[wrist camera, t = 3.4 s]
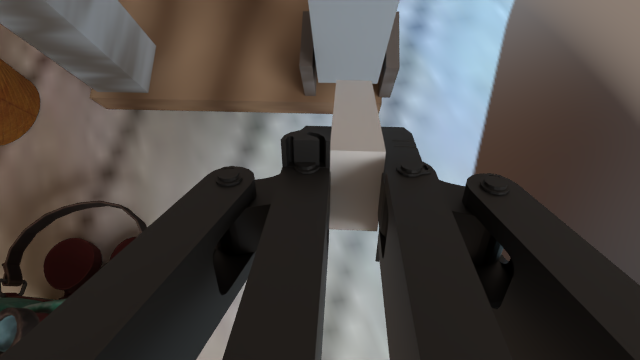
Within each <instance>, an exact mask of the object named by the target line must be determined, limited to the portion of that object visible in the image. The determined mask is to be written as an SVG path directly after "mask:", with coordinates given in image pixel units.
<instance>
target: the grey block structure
mask: <svg viewBox="0 0 640 360" xmlns="http://www.w3.org/2000/svg"><path fill="white" fill-rule="evenodd" d="M0 24H2V25H3V26H5V27H6V28H8V29H9V30H10V31H12V32H13V33H15V34H16V35H17V36H19V37H20V38H22V39H23V40H25V41H26V42H27V43H29V44H30V45H32V46H33V47H35V48H36V49H37V50H39V51H40V52H42V53H43V54H44V55H46V56H47V57H49V58H50V59H52V60H53V61H54V62H56V63H57V64H59V65H60V66H61V67H63V68H64V69H66V70H67V71H69V72H70V73H71V74H73V75H74V76H76V77H77V78H78V79H80V80H81V81H83V82H84V83H86V84H87V85H88V86H90V87H91V88H92V89H91V94H90V98H91V99H92V100H94V101H95V102H97V103H98V104H100V105H102V106H103V107H105V108H106V109H134V110H180V111H225V112H271V113H316V114H333V109H334V99H335V89H336V83H318V76H317V68H316V60H315V52H314V44H313V36H312V28H311V21H310V13H309V5H308V0H0ZM398 71H399V12H396V15H395V19H394V23H393V26H392V30H391V34H390V38H389V42H388V45H387V49H386V53H385V57H384V61H383V64H382V68H381V72H380V76H379V80H378V83H377V84H372V85H373V90H374V95H375V100H376V105H377V110H378V114H379V111H380V107H381V99H382V97H390V95H391V92H392V89H393V86H394V83H395V80H396V77H397V74H398Z"/></svg>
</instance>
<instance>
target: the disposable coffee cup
mask: <svg viewBox="0 0 640 360" xmlns="http://www.w3.org/2000/svg"><path fill="white" fill-rule="evenodd" d="M39 108H40V98H39V93H38V91H37V89H36V87H35V86H34V85H33V84H32V83H31V82H30V81H29V80H27V79H26V78H25V77H23V76H22V75H21V74H19V73H18V72H17V71H15V70H14V69H13V68H12V67H10V66H9V65H8V64H6V63H5V62H4V61H3V60H1V59H0V145H5V144H8V143H11V142H13V141H15V140H16V139H18V138H20V137H21V136H22V135H23V134H25V133H26V132H27V131H28V130H29V129H30V127H31V126H32V125H33V123H34V121H35V120H36V117H37V115H38V112H39Z"/></svg>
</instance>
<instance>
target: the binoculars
mask: <svg viewBox="0 0 640 360" xmlns="http://www.w3.org/2000/svg"><path fill="white" fill-rule="evenodd" d="M103 206H111V207H116V208H120V209H123V210H124V211H125V212H126V213H127V214H128V215H130V216H131V217H132V218H133V219H134V220H135V221H136V223H137V225H138V228H139V230H140V233H142V232H143V231H144V230H145V229H147V227H146V224H145V222H143V221H142V220H141V219H140V218H139V217H138V216H136V215H135V214H134V213H133V212H132V211H131V210H129V209H128V208H126V207H124V206H122V205H119V204H114V203H109V202H104V201H91V202H81V203H76V204H72V205H68V206H64V207H61V208H59V209H57V210H54V211H52V212H49V213H47V214H45V215H43V216H42V217H40V218H39V219H38V220H36V221H35V222H34V223H32V224H31V225H30V226H28V227H27V228H26V229H24V230H23V232H22V233H21V234H20V235H19V237H18V238H17V239H16V241H15V242H14V243H13V245H12V246H11V247H10V249H9V251H8V255H7V258H6V261H5V263H3V264H2V266H3V268H4V272H5V273H4V276H3V279H0V357H1V356H2V355H4V354H5V353H6V352H7V351H8V350H9V349H10V348H11V347H13V346H14V345H15V344H16V343H17V342H18V341H19V340H21V339H22V338H23V337H24V336H25V335H26V334H27V333H29V332H30V331H31V330H32V329H33V328H34V327H35V326H36V325H38V324H39V323H40V322H41V321H42V320H43V319H44V318H46V317H47V316H48V315H49V314H50V313H51V312H52V311H53V310H55V309H56V308H57V307H58V306H59V305H60V304H61V303H63V302H64V301H65V300H66V299H67V298H68V297H69V296H71V295H72V294H73V293H74V292H75V291H76V290H77V289H78V288H80V287H81V286H82V285H83V284H84V283H85V282H86V281H88V280H89V279H90V278H91V277H92V276H93V275H94V274H95V273H97V272H98V271H99V269H100V266H101V263H102V255H101V252H100V250H99V249H98V248H97V246H95V245H94V244H92V243H90V242H88V241H85V240H83V239H79V238H70V239H66V240H64V241H62V242H59V243H58V244H57V245H55V246H54V247H53V248H52V249H51V250H50V251H49V253H48V254H47V256H46V258H45V261H44V274H45V277H46V279H47V281H48V283H49V284H50V285H51V286H52V287H54V288H55V289H59V290H64V291H65V294H64V296H63V297H62V298H59V300H53V299H44V298H35V297H26V296H22V295H23V294H24V292H25V289H26V286H27V282H26V281H25V280H23V279H22V273H21V269H20V266H19V265H20V262H21V259H22V255H23V252H24V250H25V249H26V247H27V246H28V245H29V244H30V242H31V241H32V240H33V238H34V237H35V236H36V234H37V233H38V232H40V231H41V230H42V229H44V228H45V227H46V226H48V225H49V224H50V223H52V222H53V221H54V220H56V219H58V218H60V217H62V216H65V215H67V214H70V213H72V212H75V211H79V210H83V209H87V208H93V207H103ZM135 238H136V237H132V238H129V239H126V240H124V241H123V242H121V243H120V244H119V245H118V246H117V247H116V248H115V250H114V251H113V253H112V255H111V258H110V260H111V259H112V258H114V257H115V256H116V255H117V254H118V253H119V252H120V251H122V250H123V249H124V248H125V247H126V246H127V245H128V244H130V243H131V242H132V241H133V240H134V239H135ZM1 282H2V285H3V286H21V284H23V285H22V288H21V291H20V293H19V294H17V293H2V292H1Z"/></svg>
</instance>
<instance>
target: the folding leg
mask: <svg viewBox="0 0 640 360" xmlns="http://www.w3.org/2000/svg"><path fill="white" fill-rule="evenodd" d="M398 4H399V0H308V5H309V13H310V21H311V28H312V36H313V44H314V52H315V60H316V68H317V76H318V83H336V80H361V81H372V84H377V83H378V80H379V76H380V72H381V68H382V64H383V61H384V57H385V53H386V49H387V45H388V42H389V38H390V34H391V30H392V26H393V23H394V19H395V15H396V11H397V7H398Z"/></svg>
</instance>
